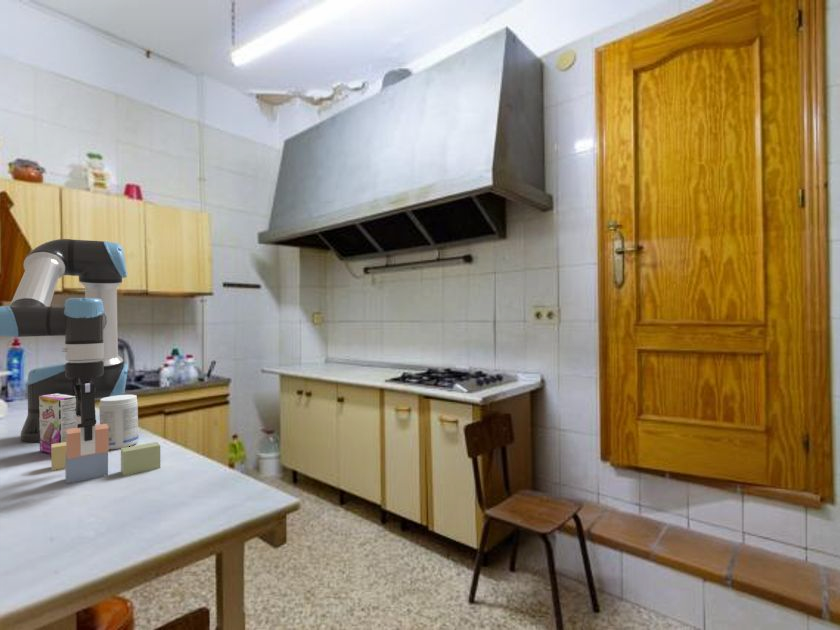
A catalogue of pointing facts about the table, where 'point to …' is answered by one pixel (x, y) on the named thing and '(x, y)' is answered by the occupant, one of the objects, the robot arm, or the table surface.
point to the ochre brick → (58, 455)
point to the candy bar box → (55, 419)
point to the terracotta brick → (74, 441)
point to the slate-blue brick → (86, 467)
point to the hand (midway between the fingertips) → (85, 447)
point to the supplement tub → (120, 420)
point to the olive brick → (140, 458)
